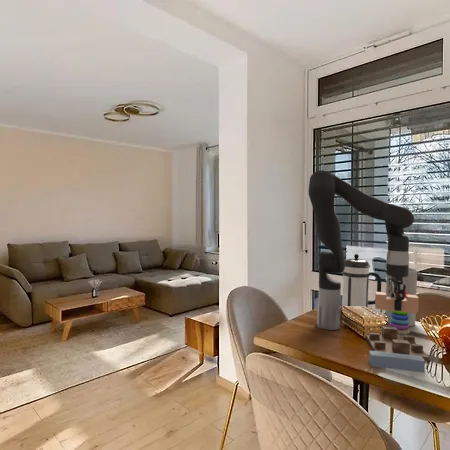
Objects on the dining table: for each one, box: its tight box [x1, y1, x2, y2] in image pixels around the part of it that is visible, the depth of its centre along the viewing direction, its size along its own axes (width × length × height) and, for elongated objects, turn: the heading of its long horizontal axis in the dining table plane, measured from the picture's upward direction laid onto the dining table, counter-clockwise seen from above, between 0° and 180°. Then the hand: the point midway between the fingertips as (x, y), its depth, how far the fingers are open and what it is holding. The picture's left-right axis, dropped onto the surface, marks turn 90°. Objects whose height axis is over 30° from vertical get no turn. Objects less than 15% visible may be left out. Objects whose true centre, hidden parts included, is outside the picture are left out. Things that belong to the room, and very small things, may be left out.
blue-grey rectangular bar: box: [368, 350, 426, 373], centre depth 117 cm, size 16×4×4 cm, turn 75°
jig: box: [365, 325, 430, 362], centre depth 133 cm, size 17×20×5 cm
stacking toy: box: [389, 290, 411, 336], centre depth 151 cm, size 8×8×19 cm
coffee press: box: [340, 253, 382, 311], centre depth 178 cm, size 17×16×30 cm
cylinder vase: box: [384, 267, 418, 327], centre depth 164 cm, size 12×12×25 cm
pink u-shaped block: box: [374, 291, 420, 314], centre depth 132 cm, size 14×4×6 cm, turn 70°
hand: (395, 308), depth 133 cm, fingers closed on pink u-shaped block, 5 cm apart
